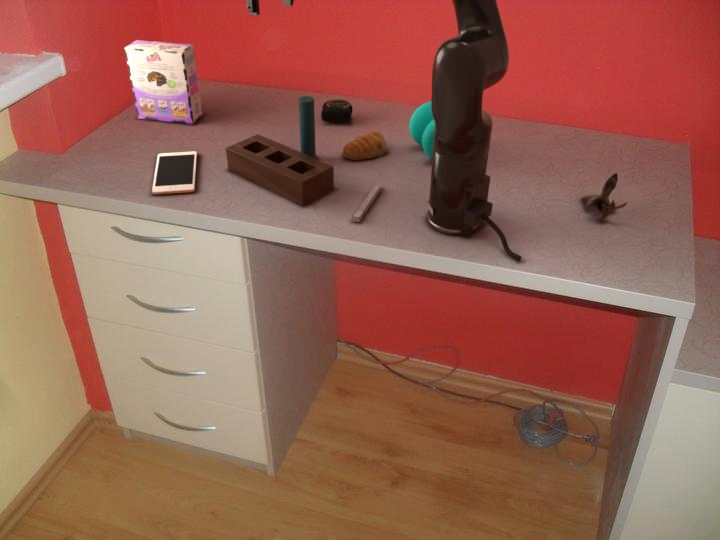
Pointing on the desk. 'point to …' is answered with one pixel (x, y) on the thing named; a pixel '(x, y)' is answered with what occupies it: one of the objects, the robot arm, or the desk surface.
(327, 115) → the tape measure
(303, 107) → the peg
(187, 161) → the cell phone
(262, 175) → the hole block
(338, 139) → the desk surface
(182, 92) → the candy box
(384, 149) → the pastry
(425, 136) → the turquoise lobed shape
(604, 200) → the eagle figurine
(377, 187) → the beige square stick
